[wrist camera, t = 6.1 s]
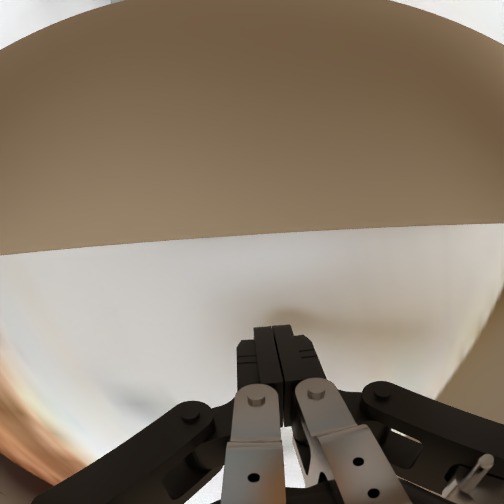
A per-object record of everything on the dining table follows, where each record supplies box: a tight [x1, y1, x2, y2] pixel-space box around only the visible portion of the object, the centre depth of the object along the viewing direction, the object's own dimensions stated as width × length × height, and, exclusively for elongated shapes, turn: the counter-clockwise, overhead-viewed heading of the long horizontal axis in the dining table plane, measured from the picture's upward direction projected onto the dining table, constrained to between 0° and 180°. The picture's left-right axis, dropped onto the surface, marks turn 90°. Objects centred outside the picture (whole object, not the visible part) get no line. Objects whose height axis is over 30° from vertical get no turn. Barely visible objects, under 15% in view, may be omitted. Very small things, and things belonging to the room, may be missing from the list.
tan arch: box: [0, 0, 504, 255], centre depth 8 cm, size 3×15×10 cm, turn 93°
